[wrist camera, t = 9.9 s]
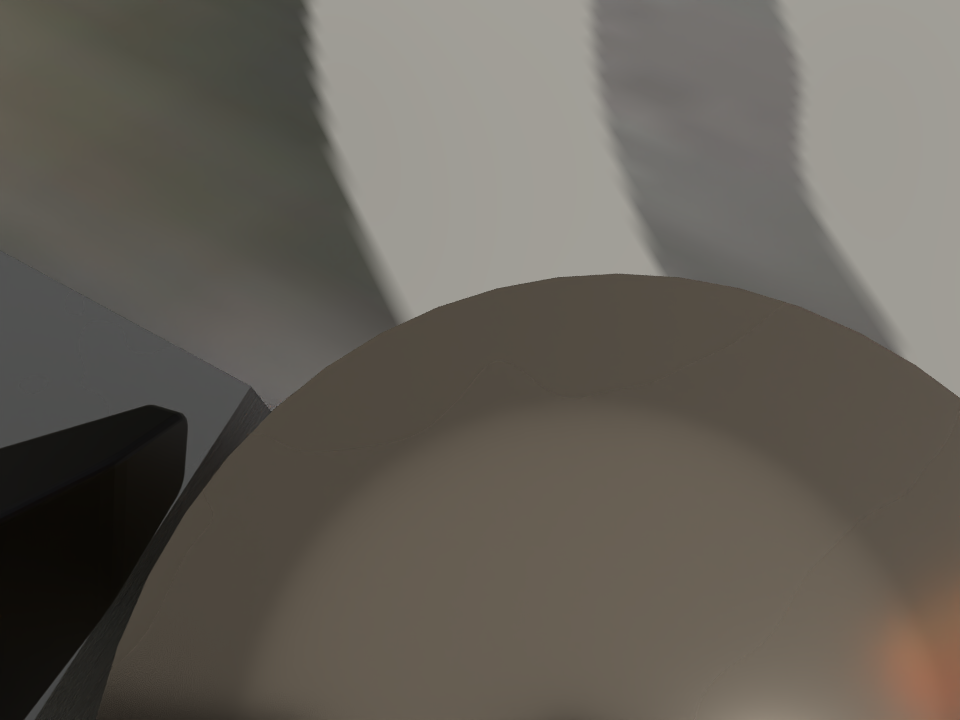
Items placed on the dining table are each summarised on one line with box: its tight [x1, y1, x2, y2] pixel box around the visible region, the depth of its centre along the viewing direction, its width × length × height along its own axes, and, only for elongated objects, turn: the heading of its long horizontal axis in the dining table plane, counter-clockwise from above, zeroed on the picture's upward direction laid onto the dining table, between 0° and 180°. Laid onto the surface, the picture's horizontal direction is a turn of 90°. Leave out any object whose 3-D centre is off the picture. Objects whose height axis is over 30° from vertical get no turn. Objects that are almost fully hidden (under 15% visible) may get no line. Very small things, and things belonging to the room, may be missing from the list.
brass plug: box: [96, 274, 960, 720], centre depth 10 cm, size 5×5×14 cm
